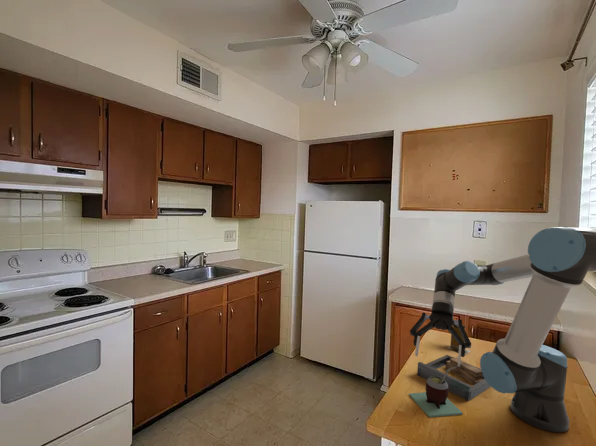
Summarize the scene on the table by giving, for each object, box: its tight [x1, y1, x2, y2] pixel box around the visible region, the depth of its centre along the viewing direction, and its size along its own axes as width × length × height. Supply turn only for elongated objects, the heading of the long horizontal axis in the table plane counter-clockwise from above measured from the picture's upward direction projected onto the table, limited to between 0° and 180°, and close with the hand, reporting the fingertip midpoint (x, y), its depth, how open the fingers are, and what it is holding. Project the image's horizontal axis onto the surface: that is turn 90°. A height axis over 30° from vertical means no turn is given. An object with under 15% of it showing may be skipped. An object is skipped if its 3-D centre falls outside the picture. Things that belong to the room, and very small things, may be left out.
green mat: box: [408, 391, 464, 418], centre depth 107 cm, size 12×12×1 cm
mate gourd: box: [425, 366, 457, 409], centre depth 107 cm, size 8×8×15 cm
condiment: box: [446, 323, 472, 355], centre depth 152 cm, size 7×8×12 cm
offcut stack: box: [445, 356, 483, 385], centre depth 128 cm, size 14×4×5 cm, turn 23°
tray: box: [416, 354, 492, 402], centre depth 125 cm, size 20×22×5 cm
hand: (436, 359), depth 110 cm, fingers open, 13 cm apart
